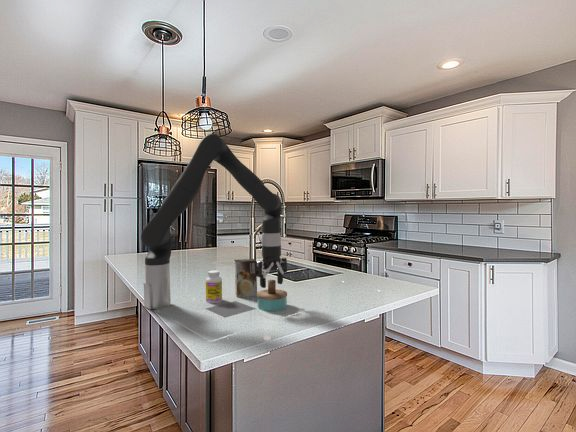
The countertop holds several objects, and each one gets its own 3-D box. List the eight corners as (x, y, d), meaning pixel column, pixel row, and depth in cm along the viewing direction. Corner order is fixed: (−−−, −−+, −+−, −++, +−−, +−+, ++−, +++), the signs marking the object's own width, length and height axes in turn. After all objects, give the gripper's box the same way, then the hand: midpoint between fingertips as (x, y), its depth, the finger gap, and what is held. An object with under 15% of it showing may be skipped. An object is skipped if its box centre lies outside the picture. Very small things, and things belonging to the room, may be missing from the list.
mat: (224, 318, 116) (224, 317, 116) (205, 309, 127) (205, 308, 127) (256, 309, 126) (256, 308, 126) (235, 302, 136) (235, 301, 136)
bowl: (270, 314, 121) (270, 301, 120) (252, 307, 129) (252, 295, 128) (291, 307, 128) (291, 295, 128) (273, 301, 136) (273, 290, 136)
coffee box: (254, 293, 150) (254, 258, 150) (257, 296, 144) (256, 260, 144) (234, 294, 148) (234, 259, 147) (236, 298, 142) (235, 261, 141)
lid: (270, 301, 120) (270, 285, 119) (250, 295, 128) (250, 280, 128) (293, 295, 128) (293, 280, 128) (273, 289, 137) (273, 275, 136)
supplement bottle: (205, 304, 133) (204, 273, 133) (206, 300, 140) (205, 270, 139) (222, 303, 135) (221, 272, 134) (222, 299, 141) (221, 269, 141)
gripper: (263, 246, 120) (263, 290, 120) (291, 243, 130) (291, 284, 130) (250, 245, 125) (251, 287, 126) (278, 242, 135) (279, 281, 136)
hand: (271, 285), depth 128 cm, fingers open, 8 cm apart
